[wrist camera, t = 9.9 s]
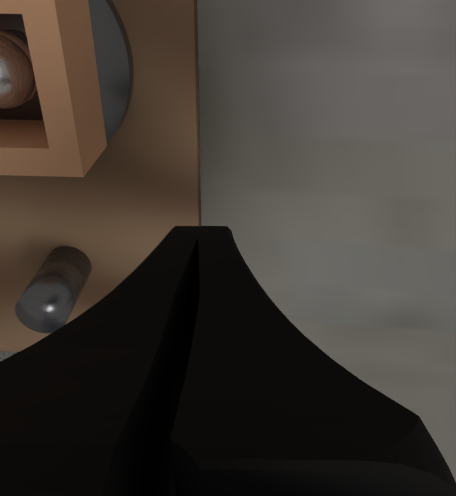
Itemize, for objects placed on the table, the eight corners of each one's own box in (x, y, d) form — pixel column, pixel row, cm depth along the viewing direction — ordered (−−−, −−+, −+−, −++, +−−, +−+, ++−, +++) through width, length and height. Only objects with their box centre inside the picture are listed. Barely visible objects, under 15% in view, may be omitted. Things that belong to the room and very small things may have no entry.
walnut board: (203, 335, 24) (201, 354, 23) (-12, 331, 24) (-25, 350, 23) (194, -136, 14) (190, -148, 12) (-186, -143, 14) (-229, -156, 12)
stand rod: (94, 282, 20) (70, 333, 18) (52, 281, 20) (21, 332, 18) (87, 246, 19) (62, 294, 16) (43, 245, 19) (9, 293, 16)
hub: (142, 164, 17) (125, 199, 15) (-47, 161, 17) (-99, 194, 15) (120, -69, 13) (92, -82, 11) (-125, -74, 13) (-217, -88, 11)
